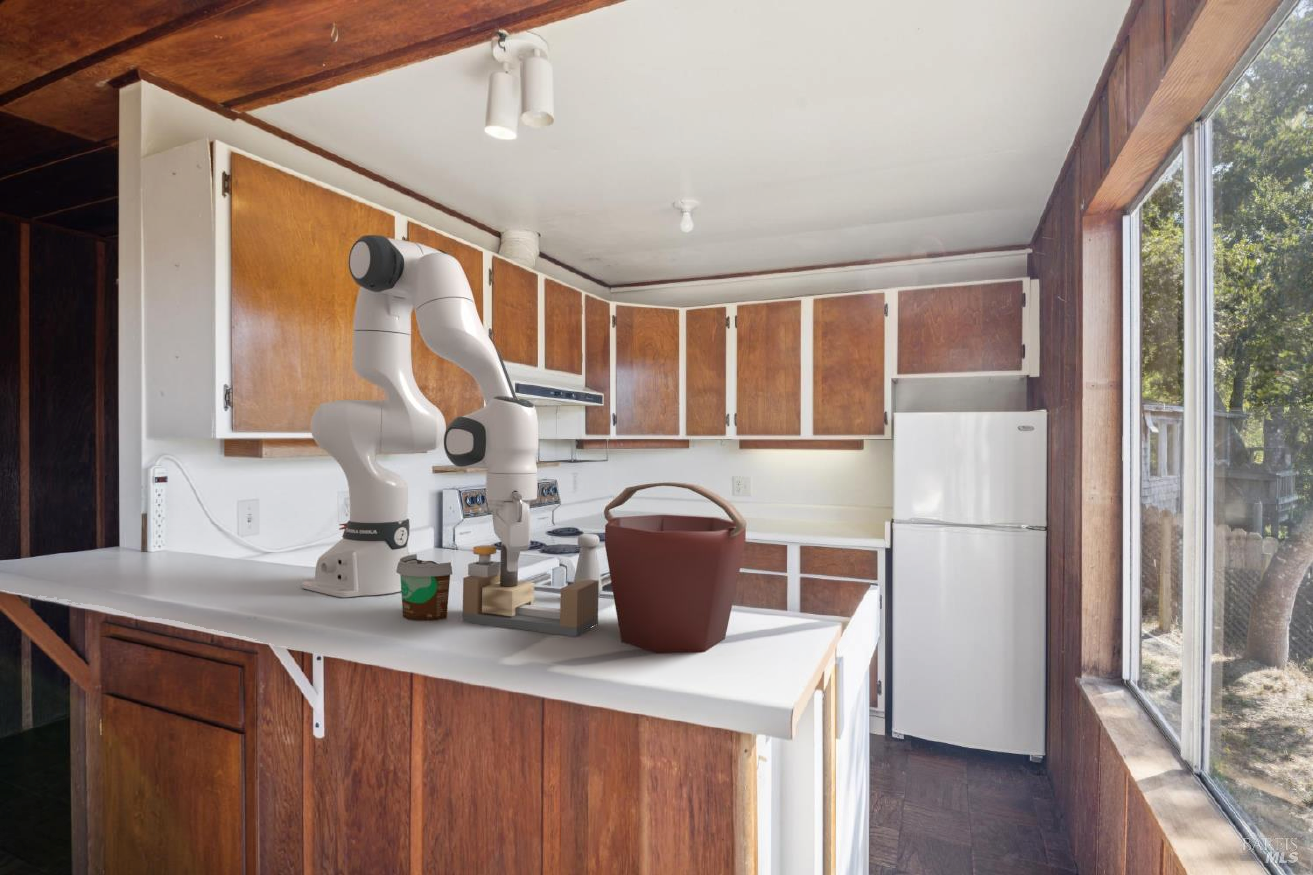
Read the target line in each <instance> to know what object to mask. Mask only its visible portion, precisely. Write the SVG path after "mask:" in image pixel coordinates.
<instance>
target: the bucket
mask: <svg viewBox="0 0 1313 875" xmlns="http://www.w3.org/2000/svg"><path fill="white" fill-rule="evenodd" d="M663 486H664V487H675V488H682V489H687V490H690V491H692V492H695V493H697V494H698V495H700V496H701V497H704V498H706V499H707V500H710V501H711V502H712V503H714V504H715V505H716V506H718V507H720V508H721V509H722V510H723V511H724V512H725V513H726V515H727V516H728V517H729V518H730V520H728V519H726V518H725V519H724V518H721V517H718V516H717V517H714V516H699V515H698V516H697V515H695V516H693V515H682V514H681V515H679V514H649V515H646V514H645V515H634V516H618V517H614V516H613V514H612V513H611V511H610V510H612V509H615V508H617V507H620V506H622V505H624V504H625V503H626V502H628V501H629V499H631V498H632V497H633V496H634V495H635V494H636V493H637V492H638V491H642V490H647V489H650V488H655V487H663ZM603 515H604V519H605V520H606V521H607V522H606V524H605V526H604V527H605V528H604V529H605V530H604V548H605V553H606V560H607V564H608V571H609V576H610V577H609V578H610V582H611V588H612V589H611V590H612V594H613V599H614V600H613V601H614V605H615V611H616V612H615V613H616V617H617V624H618V630H619V636H620V641H621V643H622V644H626V645H629V646H631V647H635V648H638V649H641V650H644V651H648V652H650V653H653V654H676V653H677V654H679V653H682V654H683V653H705V652H707V651H708V650H710V649H712V648H713V647H715V646H716V645H718V644H720V643H721V642H722V641H724V640H725V639H726V635H727V630H728V626H729V622H730V616H731V611H732V609H733V608H732V607H733V603H734V599H735V594H736V589H737V585H738V581H739V579H738V578H739V574H740V571H741V570H740V569H741V566H742V562H743V561H742V560H743V556H744V551H745V547H746V539H747V538H746V531H747V529H746V528H747V521H746V520H745V519H744V518H745V517H743V516H742V514H741V513H740V512H739V510H738V509H737V507H735V506H734V505H733V504H732V503H730V502H729V501H727V500H726V499H725V498H723V497H722V496H720V495H719V494H717V493H715V492H713V491H711V490H709V489H707V488H705V487H703V486H700V485H699V484H692V483H685V482H676V481H675V482H672V481H668V482H655V483H645V484H639V485H638V484H637V485H633V486H628V487H626V488H625V489H623V491H622V492H620V494H619V495H617V496H616V497H615V498H614V499H613V500H612V501H611V502H609V503H608V504H607V505H606V506H605V508H604V510H603Z"/></svg>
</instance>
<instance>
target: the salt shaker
mask: <svg viewBox="0 0 1313 875" xmlns="http://www.w3.org/2000/svg"><path fill="white" fill-rule="evenodd" d="M600 541H601V540H600V537H599V536H598V534H596V533H595V534H594V533H583V534H580V535H579V536H577V546H578V547H580V549H579V554H578V560H577V564H576V568H575V574H574V579H573V583H575V582H577V581H580V580H582V579H588V580H598V581H599V593H598V599H599V597H600V595H601V594H602V592H603V583H602V578H601V571H600V567H599V566H600V565H599V559H598V553H597V548H598V547H599V546H600Z"/></svg>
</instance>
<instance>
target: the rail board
mask: <svg viewBox="0 0 1313 875" xmlns="http://www.w3.org/2000/svg"><path fill="white" fill-rule="evenodd" d="M467 568H468V570H467V571H468V572H467V576H465V577H463V578H462V579H463V580H462V622H466V623H471V624H472V623H473V624H479V625H488V626H494V627H502V628H508V629H509V628H510V629H515V630H516V629H517V630H523V631H530V632H536V633H537V632H539V633H543V634H552V635H560V636H565V635H566V636H565V637H573V638H577V637H579V636H581V635H582V634H584V633H586V632H587V631H589V630H590V628H591V627H592V626H594V625H596V624H597V625H599V598H598V593H599V581H598V580H588V579H582V580H580V581H577V582H575V583H574V582H572V583H570V584H568V585H566V586H564V587H561V588H560V605H559V606H560V608H556V607H555V608H554V607H548V606H547V607H546V606H538V605H534V606H532V605H524V604H523V605H521V606H518V607H516V608H515V615H514V616H505V615H498V614H490V613H482V588H484V587H487V586H489V585H492V584H495V583H498V582H500V561H496V560H491V562H490V564H489V565H481V564H479V560H478V561H475V562H471V563H468V564H467ZM597 625H596V626H597ZM594 627H595V626H594ZM592 628H593V627H592ZM592 628H591V629H592ZM588 629H589V630H588ZM585 631H586V632H585ZM583 632H584V633H583ZM581 633H582V634H581ZM580 634H581V635H580Z"/></svg>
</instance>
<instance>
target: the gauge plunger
mask: <svg viewBox="0 0 1313 875" xmlns="http://www.w3.org/2000/svg"><path fill="white" fill-rule="evenodd" d="M472 548H473V549H472V554H474V555H478V561H479V564H481V565H489V564H490V562H491V561H492V560H491V559H492V557H491V556H492V555H495V554H497V546H496V545H486V544H485V545H484V544H483V545H476V546H473V547H472Z"/></svg>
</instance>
